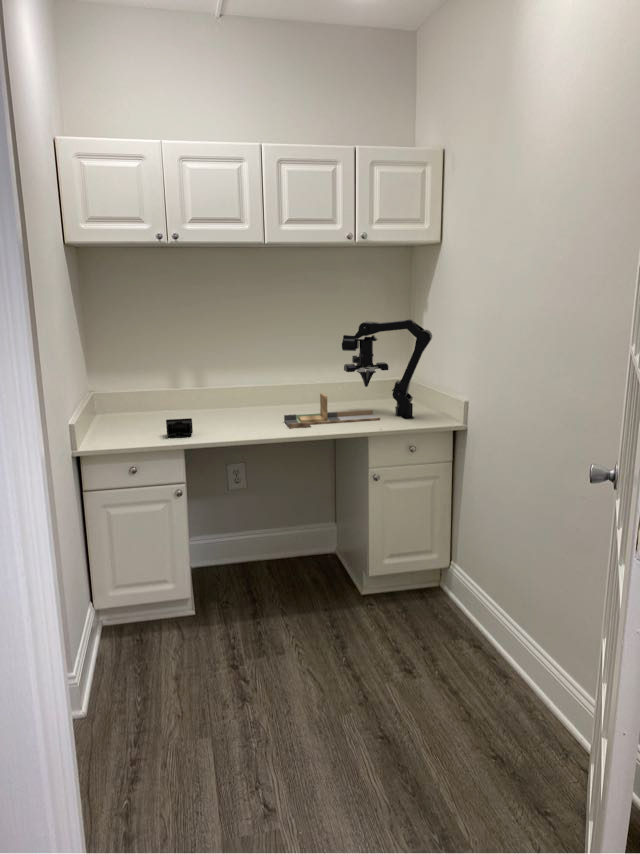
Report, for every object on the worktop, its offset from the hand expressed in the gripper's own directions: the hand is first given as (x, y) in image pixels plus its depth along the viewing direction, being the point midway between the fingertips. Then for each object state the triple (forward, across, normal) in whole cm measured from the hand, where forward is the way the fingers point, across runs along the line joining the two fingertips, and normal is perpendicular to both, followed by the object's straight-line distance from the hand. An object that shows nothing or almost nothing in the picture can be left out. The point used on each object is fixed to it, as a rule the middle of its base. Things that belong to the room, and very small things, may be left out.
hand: (366, 386), depth 290 cm
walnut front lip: (+13, +17, +14) cm, 26 cm away
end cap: (+13, +81, +14) cm, 83 cm away
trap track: (+13, +17, +8) cm, 23 cm away
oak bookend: (+12, +26, +8) cm, 29 cm away
